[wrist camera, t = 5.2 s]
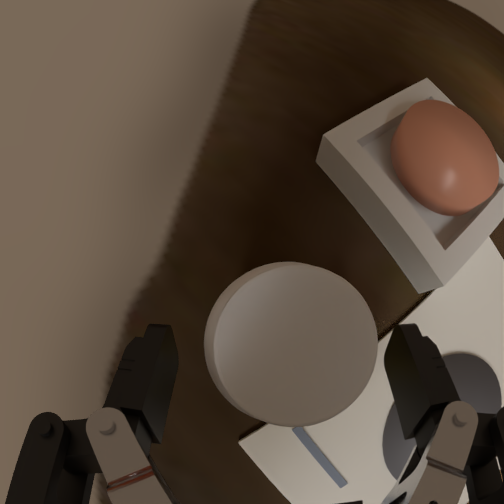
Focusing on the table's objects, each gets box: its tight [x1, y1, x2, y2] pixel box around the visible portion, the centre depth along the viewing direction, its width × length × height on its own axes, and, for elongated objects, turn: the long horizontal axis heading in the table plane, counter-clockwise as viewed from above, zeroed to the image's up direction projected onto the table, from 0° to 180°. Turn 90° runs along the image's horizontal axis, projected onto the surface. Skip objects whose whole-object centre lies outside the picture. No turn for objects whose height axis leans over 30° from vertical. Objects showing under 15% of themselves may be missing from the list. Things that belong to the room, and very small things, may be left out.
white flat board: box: [238, 237, 504, 504], centre depth 15 cm, size 20×15×1 cm
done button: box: [390, 100, 499, 216], centre depth 15 cm, size 6×6×2 cm
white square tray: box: [315, 78, 504, 294], centre depth 17 cm, size 10×10×3 cm
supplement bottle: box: [204, 262, 378, 427], centre depth 12 cm, size 5×5×10 cm
